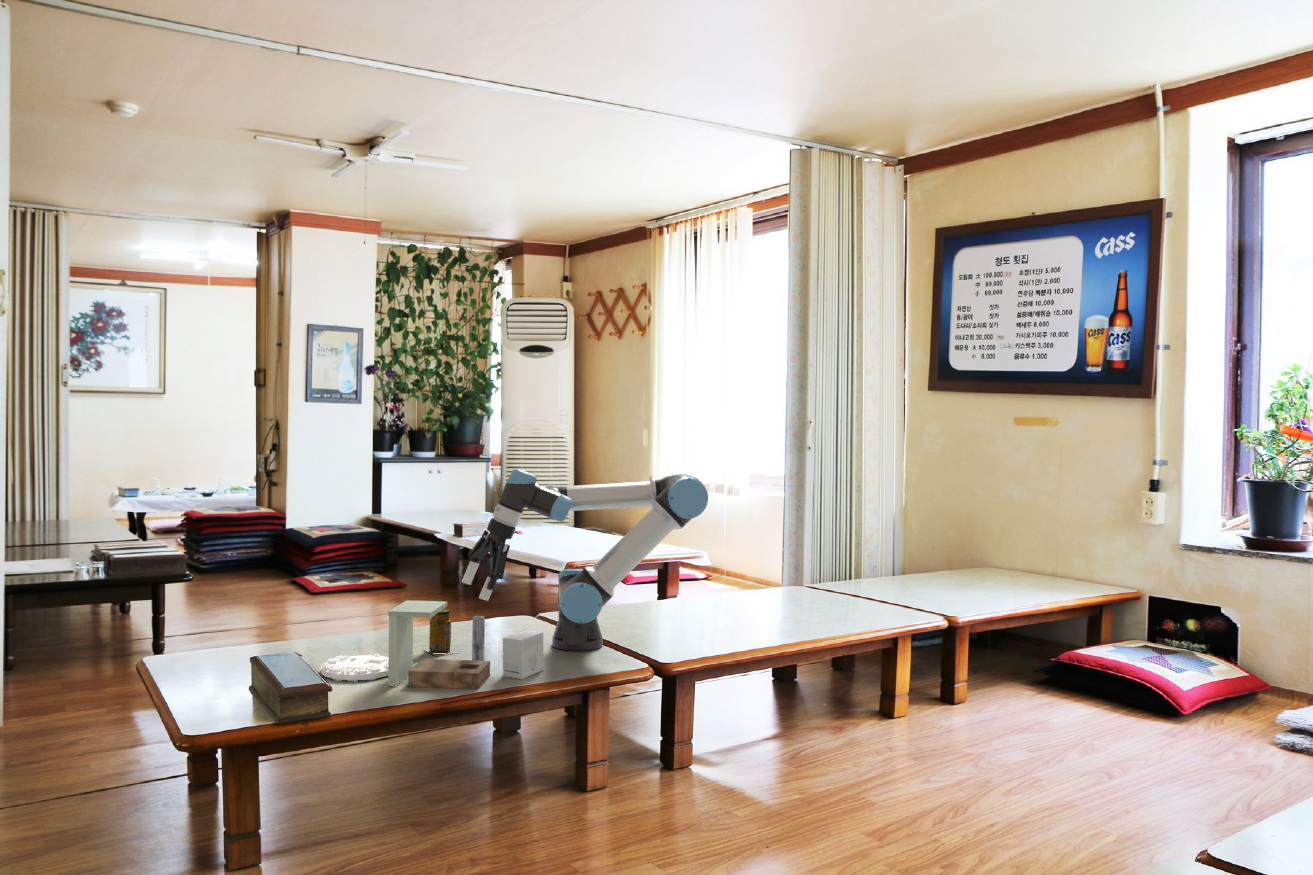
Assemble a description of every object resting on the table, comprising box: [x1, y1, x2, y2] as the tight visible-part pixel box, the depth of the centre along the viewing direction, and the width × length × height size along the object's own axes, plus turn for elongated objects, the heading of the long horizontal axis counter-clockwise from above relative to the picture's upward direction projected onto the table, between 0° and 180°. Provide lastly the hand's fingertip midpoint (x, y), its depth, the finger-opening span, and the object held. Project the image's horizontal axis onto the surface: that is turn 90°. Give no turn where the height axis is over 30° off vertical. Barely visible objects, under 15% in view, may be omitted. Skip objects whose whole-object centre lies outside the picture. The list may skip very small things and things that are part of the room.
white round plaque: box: [320, 653, 389, 683], centre depth 250 cm, size 20×20×3 cm
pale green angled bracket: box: [387, 600, 448, 688], centre depth 243 cm, size 11×14×19 cm
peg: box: [471, 615, 486, 661], centre depth 255 cm, size 3×3×14 cm
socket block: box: [407, 658, 491, 690], centre depth 242 cm, size 18×12×4 cm, turn 86°
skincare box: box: [502, 629, 545, 680], centre depth 251 cm, size 10×6×10 cm, turn 152°
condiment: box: [424, 608, 460, 657], centre depth 272 cm, size 7×8×12 cm
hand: (474, 591), depth 265 cm, fingers open, 13 cm apart
